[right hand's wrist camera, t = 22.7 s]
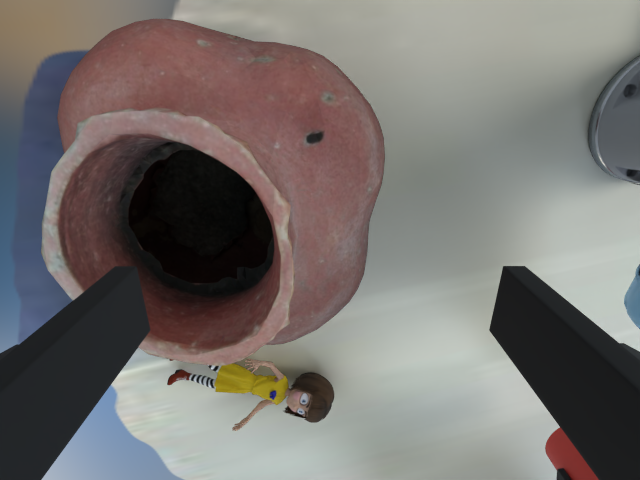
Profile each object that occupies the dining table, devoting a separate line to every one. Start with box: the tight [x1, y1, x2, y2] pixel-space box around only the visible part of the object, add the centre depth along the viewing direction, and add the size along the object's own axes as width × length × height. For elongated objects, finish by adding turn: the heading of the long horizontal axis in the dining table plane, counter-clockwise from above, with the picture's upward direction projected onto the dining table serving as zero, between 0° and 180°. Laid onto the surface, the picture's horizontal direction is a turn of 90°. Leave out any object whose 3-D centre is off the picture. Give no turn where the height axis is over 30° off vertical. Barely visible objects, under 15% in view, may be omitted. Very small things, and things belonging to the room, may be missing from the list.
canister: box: [545, 427, 599, 480], centre depth 44 cm, size 9×9×10 cm
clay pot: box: [41, 19, 385, 366], centre depth 32 cm, size 30×30×25 cm
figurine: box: [167, 359, 334, 431], centre depth 53 cm, size 13×8×25 cm
